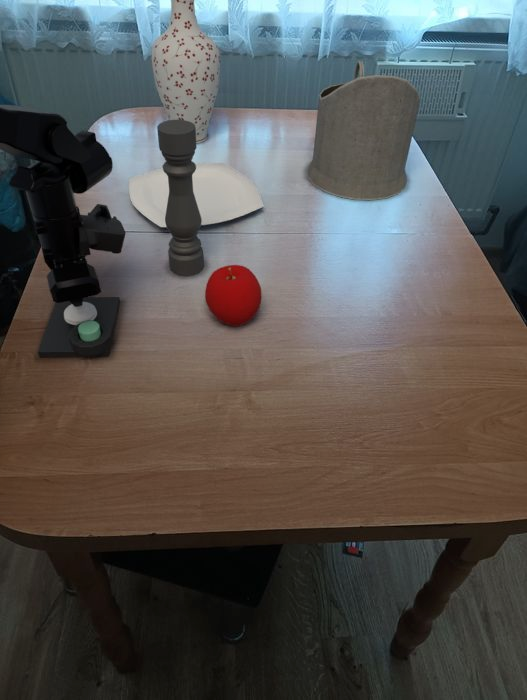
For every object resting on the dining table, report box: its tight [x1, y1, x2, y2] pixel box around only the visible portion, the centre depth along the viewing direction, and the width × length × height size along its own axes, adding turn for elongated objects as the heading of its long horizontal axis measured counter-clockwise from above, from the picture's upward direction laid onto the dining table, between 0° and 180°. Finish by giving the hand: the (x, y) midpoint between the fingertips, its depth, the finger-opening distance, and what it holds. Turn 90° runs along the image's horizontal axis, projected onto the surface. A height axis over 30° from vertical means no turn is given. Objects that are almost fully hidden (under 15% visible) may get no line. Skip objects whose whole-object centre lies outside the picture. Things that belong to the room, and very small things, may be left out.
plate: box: [128, 162, 264, 229], centre depth 115 cm, size 27×27×2 cm
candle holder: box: [156, 119, 205, 277], centre depth 89 cm, size 6×6×25 cm
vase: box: [150, 0, 221, 145], centre depth 127 cm, size 16×16×35 cm
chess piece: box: [64, 302, 97, 325], centre depth 80 cm, size 5×5×10 cm
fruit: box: [204, 264, 263, 327], centre depth 84 cm, size 9×9×10 cm
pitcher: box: [306, 60, 421, 201], centre depth 121 cm, size 23×32×25 cm
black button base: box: [37, 296, 121, 359], centre depth 83 cm, size 14×10×3 cm
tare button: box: [78, 321, 101, 341], centre depth 79 cm, size 3×3×2 cm
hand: (77, 301), depth 82 cm, fingers closed on chess piece
